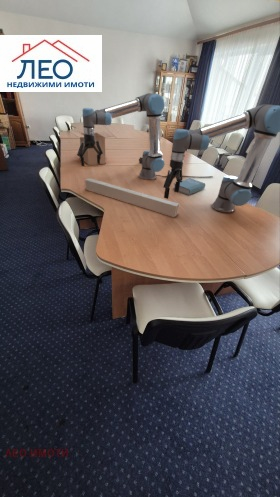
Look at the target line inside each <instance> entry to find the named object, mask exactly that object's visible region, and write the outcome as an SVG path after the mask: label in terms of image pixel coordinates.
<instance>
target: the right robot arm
mask: <svg viewBox="0 0 280 497" xmlns="http://www.w3.org/2000/svg"><path fill="white" fill-rule="evenodd" d="M243 129H244V130H249V129H254V130H253V135H254V138H253V141H252V143H251V145H250V147H249V150H248V152H247V154H246V157H245V159H244V161H243V164H242V165H241V168H240V171H239V173H238V176H234V175H225V176H223V178H222V180H221V183H220V187H219V190H218V195H217V197H216V198H215V200H214V201H213V202H212V208H213V209H214V210H215V211H217V212H220V213H224V214H230V213H233V212H234V211H235V206H236V207H240V206H245V205H246V204H248V203H249V202H250V201H251V199H253V198H257V199H258V198H259V197H258V196H257V195H253V196H252V192H251V191H252V188H253V180H254V179H255V176H256V173H257V171H258V169H259V166H260V165H261V163H262V161H263V159H264V156H265V154H266V152H267V150H268V148H269V145H270V143H271V142H272V140H273V139H275V138H276V137H277V136H278V134H279V133H280V105H278V104H277V105H276V104H269V103H263V104H260V105H258V106H255V107H252V108H250V109H246V110H244V111H243V112H242V113H241V114H238V115H235V116H232V117H228V118H226V119H222V120H220V121H217V122H214V123H211V124H208V125H206V126H203V127H199V128H196V129H186V128H185V129H183V128H176V129H175V130H174V132H173V133H174V134H173V137H172V146H171V151H170V152H171V153H170V160H169V167H170V168H171V170H170V169H169V170H168V171H167V174H166V176H167V177H165V180H164V183H163V186H162V187H163V188H164V194H163V199H165V200H169V196H170V190H171V188H170V187H171V185H172V183H173V182H174V179H176V181H175V183H176V184H174V185H175V190H174V189H173V191H174V193H178V194H179V193H180V192H179V187H180V182H182V181H183V177H182V176H183V167H184V159H185V157H186V155H185V154H186V151H187V150H191V151H206V150H208V148H209V146H210V140H212V139H214V138H218V137H222V136H224V135H228V134H230V133H233V132H237V131H239V130H243Z"/></svg>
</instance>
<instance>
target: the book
mask: <svg viewBox="0 0 280 497" xmlns="http://www.w3.org/2000/svg"><path fill="white" fill-rule="evenodd" d="M181 181H182V182H180V187H179V192H178V193H181V194H184V195H186V196H190V195H193V194H194V193H197V192H199V191H202V190H204V189H205V188H206V183H205V182H202V181H199V180H197V179H193V178H192V177H188V178H186V179H182V180H181ZM175 184H176V182H174V183H173V191H174V190H175Z"/></svg>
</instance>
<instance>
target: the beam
mask: <svg viewBox="0 0 280 497" xmlns="http://www.w3.org/2000/svg"><path fill="white" fill-rule="evenodd" d="M84 186H85V190H86V191H88V192H93V193H95V194H98V195H102V196H105V197H108V198H112V199H115V200H117V201H120V202H124V203H127V204H130V205H134V206H137V207H140V208H143V209H146V210H150V211H153V212H156V213H159V214H163V215H165V216H169V217H172V218H176V217H177V216H178V212H179V206H180V203H178V202H174V201H172V200H169V199H165V198H160V197H157V196H154V195H150V194H146V193H143V192H139V191H137V190H132V189H129V188H125V187H122V186H119V185H115V184H112V183H108V182H105V181H101V180H97V179H95V178H91V177H88V178H86V179H84Z"/></svg>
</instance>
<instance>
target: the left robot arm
mask: <svg viewBox="0 0 280 497" xmlns="http://www.w3.org/2000/svg"><path fill="white" fill-rule="evenodd" d="M165 105H166V104H165V99H164V97H163V96H162V95H160V94H158V93H150V92H149V93H145V94H142V95H139V96H137V97H136V96H135V98H134V99H133V100H129V101H125V102H122V103H118V104H116V105H111V106H108V107H104V108H101V109H95V108H91V107H84V108H82V126H83V127H82V128H83V131H84V140H85V141H84V142H80V141H79V144H80V145H79V147H78V150H77V154H76V156H77V157H79V161H80V164H81V167H85V161H84V157H83V155H84V153H85V152H86V150H87V149H88V148H89V149H90V148H94V150H95V151H96V152H97V154H98V155H97V165H101V164H100V159H101V154H103V152H102V150H101V148H100V145H99V141H95V135H94V134H95V132H96V130H95V126H111V125H112V122H113V121H112V120H113V119H117V118H118V117H123V116H126V115H129V114H133V113H136V112H138V113H141V112H146V114H145V115H146V118H147V119H148V136H149V137H148V138H149V140H148V141H149V150H143V152H142V157H143V158H142V157H141V158H142V163H141V169H140V172H139V178H140V179H142V180H146V181H154V180H156V178H157V177H162V178H166V177H167V175H161V174H160V175H159V174H156V173H157V172H160V171H162V170H163V169H164V167H165V160H164V159H163V153H162V151H161V118H162V117H163V112H164V110H165ZM94 109H95V110H94ZM84 144H85V146H84ZM95 144H96V145H97V148H98V150H99V151H98V150H97V148H96V147H95ZM83 146H84V149H83ZM82 149H83V150H82ZM182 178H195V176H193V175H192V176H191V175H182ZM197 178H202V179H203V178H206V176H197ZM208 178H213V175H211V176H208Z"/></svg>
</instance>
